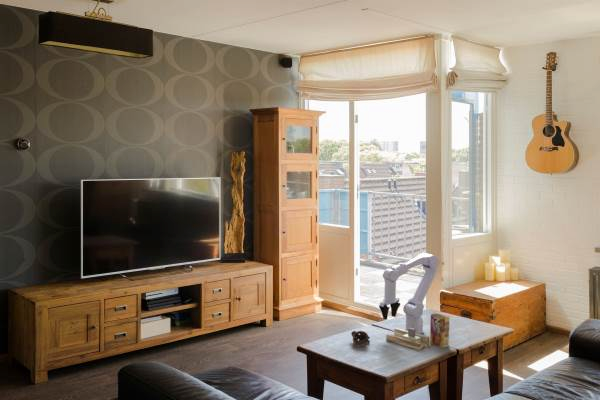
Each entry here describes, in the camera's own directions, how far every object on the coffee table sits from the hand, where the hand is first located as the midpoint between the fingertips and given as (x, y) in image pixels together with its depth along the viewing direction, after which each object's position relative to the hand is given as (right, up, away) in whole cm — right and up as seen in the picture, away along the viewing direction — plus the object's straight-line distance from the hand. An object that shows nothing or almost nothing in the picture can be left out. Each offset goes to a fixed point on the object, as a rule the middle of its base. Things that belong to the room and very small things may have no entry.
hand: (389, 317), depth 303 cm
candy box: (+24, -12, -11) cm, 28 cm away
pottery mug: (-17, -12, -11) cm, 23 cm away
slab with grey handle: (+10, -10, -10) cm, 17 cm away
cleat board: (+8, -11, -8) cm, 16 cm away
